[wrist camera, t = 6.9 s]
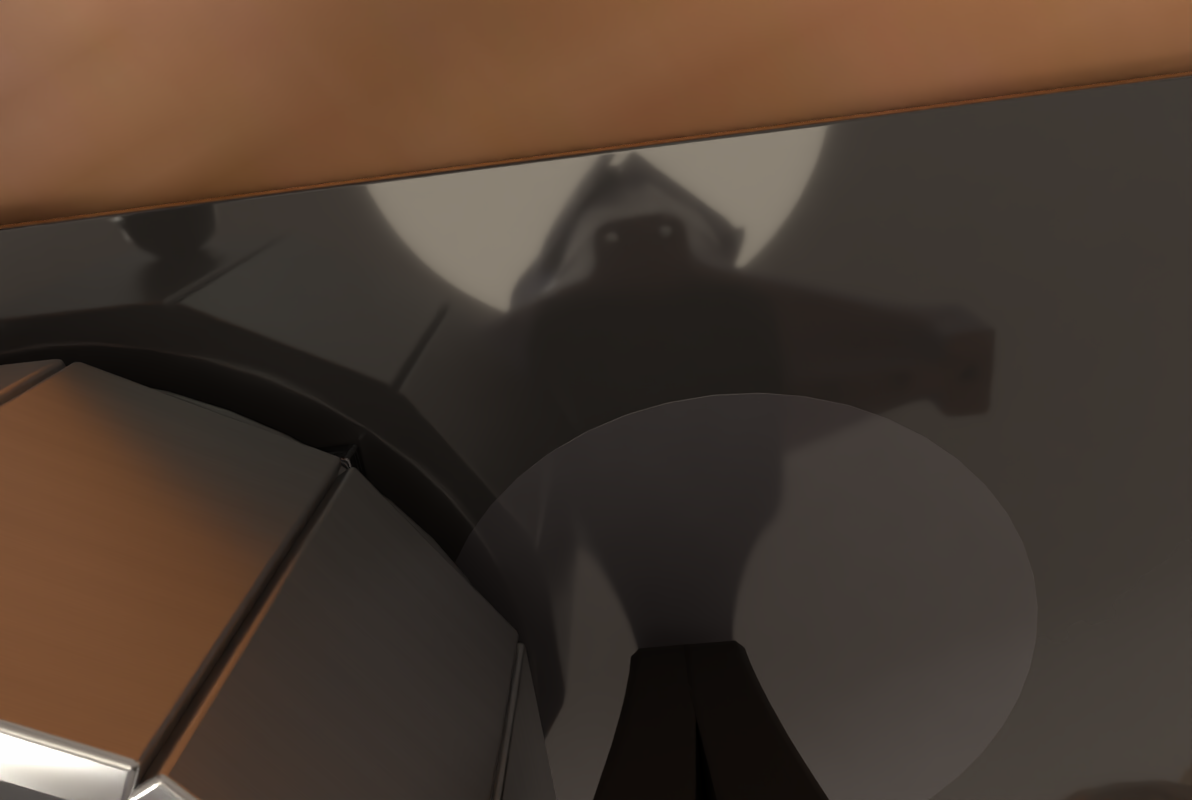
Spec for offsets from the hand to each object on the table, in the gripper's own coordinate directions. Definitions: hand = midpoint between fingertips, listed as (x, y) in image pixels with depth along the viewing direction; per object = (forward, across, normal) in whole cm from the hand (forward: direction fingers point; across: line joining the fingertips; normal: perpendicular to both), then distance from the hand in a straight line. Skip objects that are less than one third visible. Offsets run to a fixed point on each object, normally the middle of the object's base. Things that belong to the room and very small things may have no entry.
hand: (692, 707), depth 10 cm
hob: (+1, +3, 0) cm, 4 cm away
